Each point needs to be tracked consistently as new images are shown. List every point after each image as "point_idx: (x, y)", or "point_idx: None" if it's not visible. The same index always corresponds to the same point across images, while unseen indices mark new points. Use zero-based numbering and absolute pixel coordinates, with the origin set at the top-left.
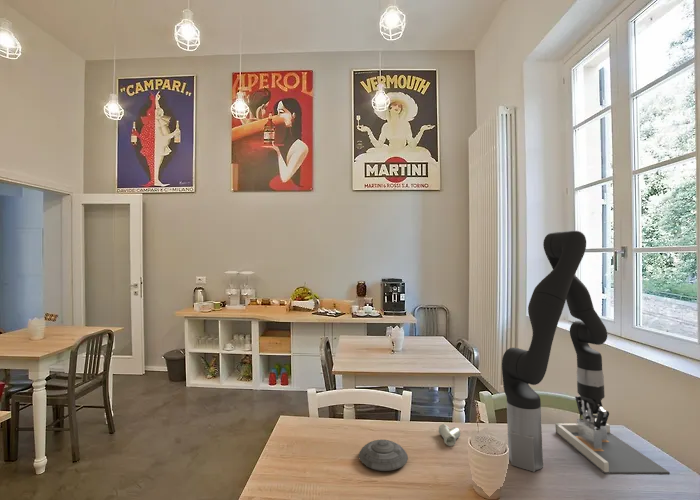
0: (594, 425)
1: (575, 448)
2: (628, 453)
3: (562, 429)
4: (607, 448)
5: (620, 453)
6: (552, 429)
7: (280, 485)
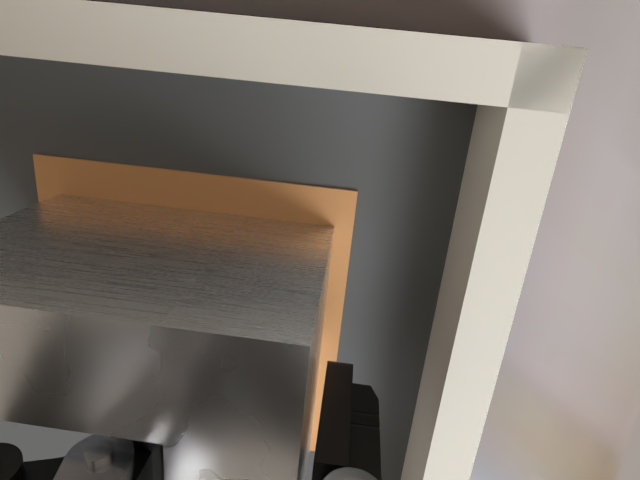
0: (95, 441)
1: None
2: (34, 428)
3: (365, 27)
4: None
5: None
6: (621, 61)
7: None
